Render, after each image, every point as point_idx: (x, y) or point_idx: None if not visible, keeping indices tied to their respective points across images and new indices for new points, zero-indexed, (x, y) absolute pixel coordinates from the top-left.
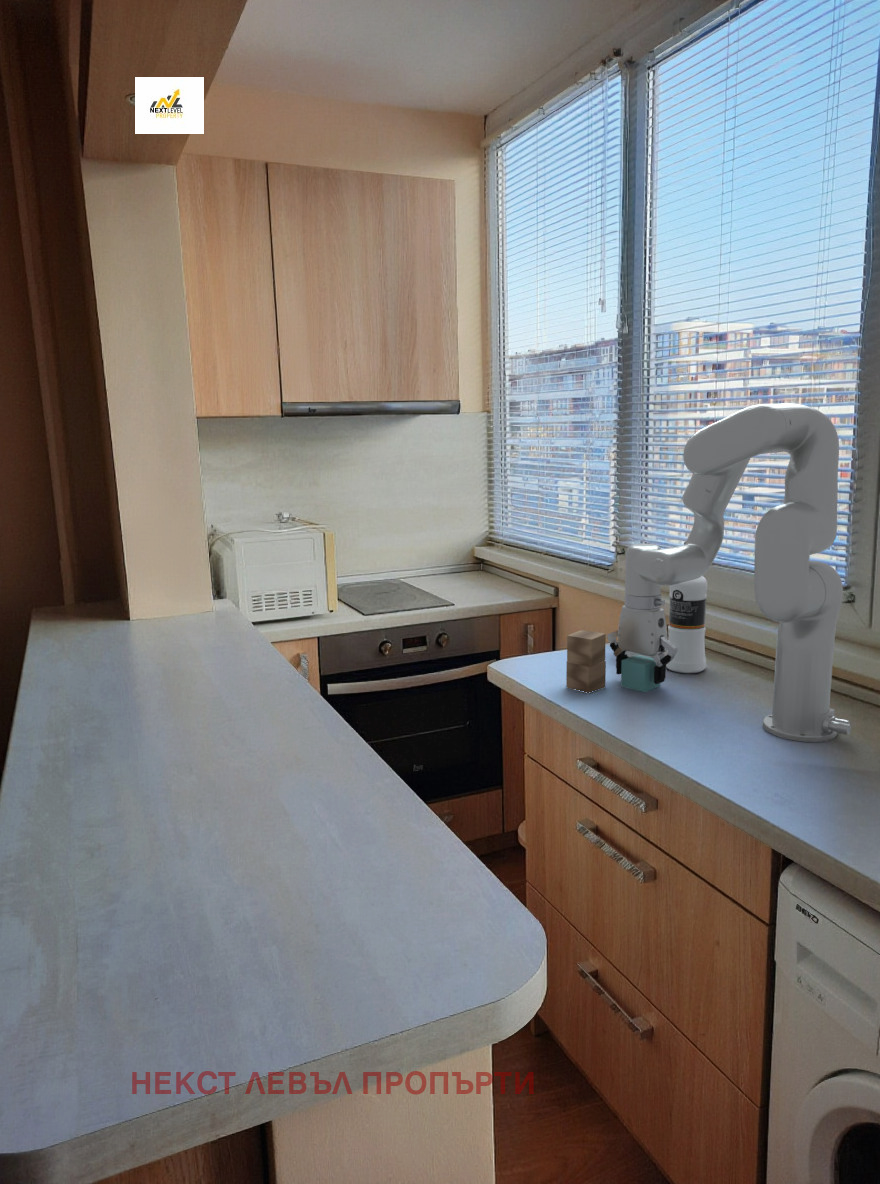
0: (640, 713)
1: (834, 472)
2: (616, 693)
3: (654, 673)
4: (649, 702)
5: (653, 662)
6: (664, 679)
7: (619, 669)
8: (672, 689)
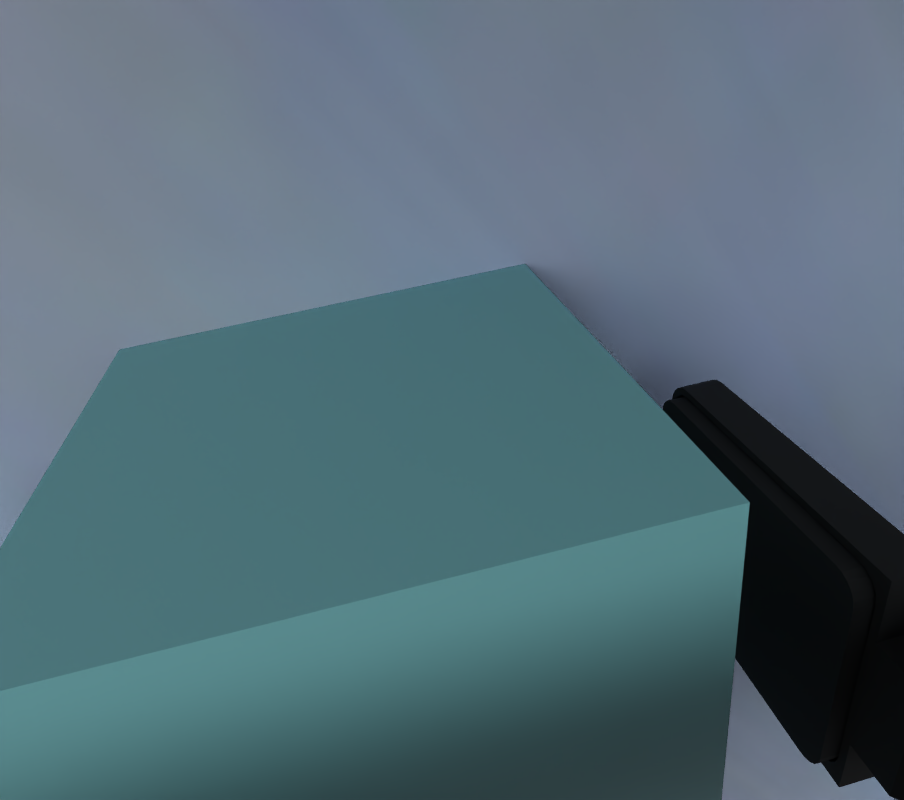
0: (809, 790)
1: None
2: None
3: (746, 661)
4: None
5: (718, 728)
6: (723, 390)
7: None
8: (726, 238)
